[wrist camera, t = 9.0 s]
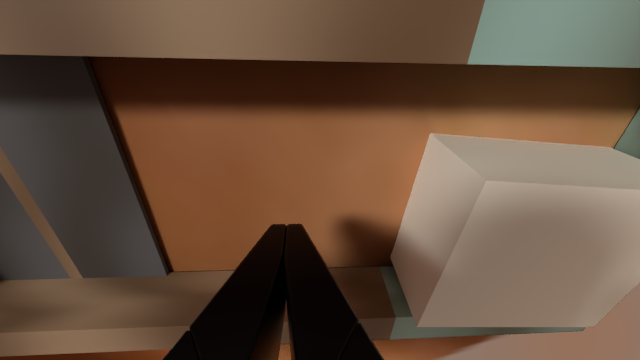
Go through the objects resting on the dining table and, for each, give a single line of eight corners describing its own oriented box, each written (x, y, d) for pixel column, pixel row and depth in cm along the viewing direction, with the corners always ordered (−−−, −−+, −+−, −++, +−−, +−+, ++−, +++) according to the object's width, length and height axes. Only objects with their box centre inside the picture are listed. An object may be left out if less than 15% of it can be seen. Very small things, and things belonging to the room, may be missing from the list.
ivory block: (388, 253, 12) (416, 327, 9) (427, 130, 9) (486, 180, 6) (526, 257, 13) (593, 327, 10) (602, 144, 10) (730, 195, 7)
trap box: (-5, 299, 12) (-72, 359, 10) (-318, -38, 6) (-664, -73, 4) (538, 282, 14) (582, 331, 11) (722, 2, 8) (889, -7, 5)
